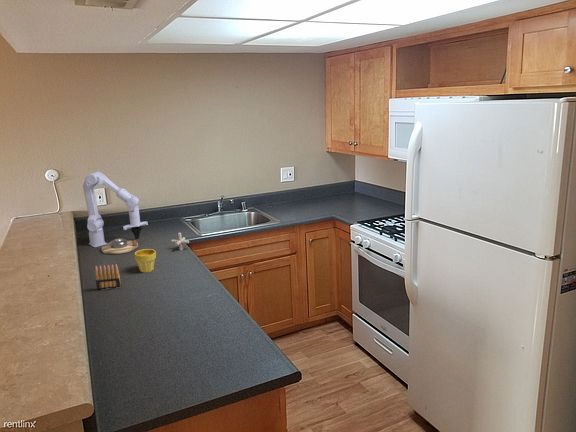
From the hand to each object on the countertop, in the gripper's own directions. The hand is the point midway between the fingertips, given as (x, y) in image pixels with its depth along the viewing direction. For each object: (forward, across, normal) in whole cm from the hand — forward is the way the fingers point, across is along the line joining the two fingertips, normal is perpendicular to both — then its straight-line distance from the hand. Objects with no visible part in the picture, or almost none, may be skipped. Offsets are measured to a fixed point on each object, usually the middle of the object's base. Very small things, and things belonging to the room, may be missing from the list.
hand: (137, 238), depth 271 cm
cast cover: (+2, -11, 0) cm, 11 cm away
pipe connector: (+3, +13, -28) cm, 31 cm away
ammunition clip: (+4, -38, -50) cm, 63 cm away
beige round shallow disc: (+3, -11, 0) cm, 11 cm away
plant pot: (+3, -15, -42) cm, 45 cm away
